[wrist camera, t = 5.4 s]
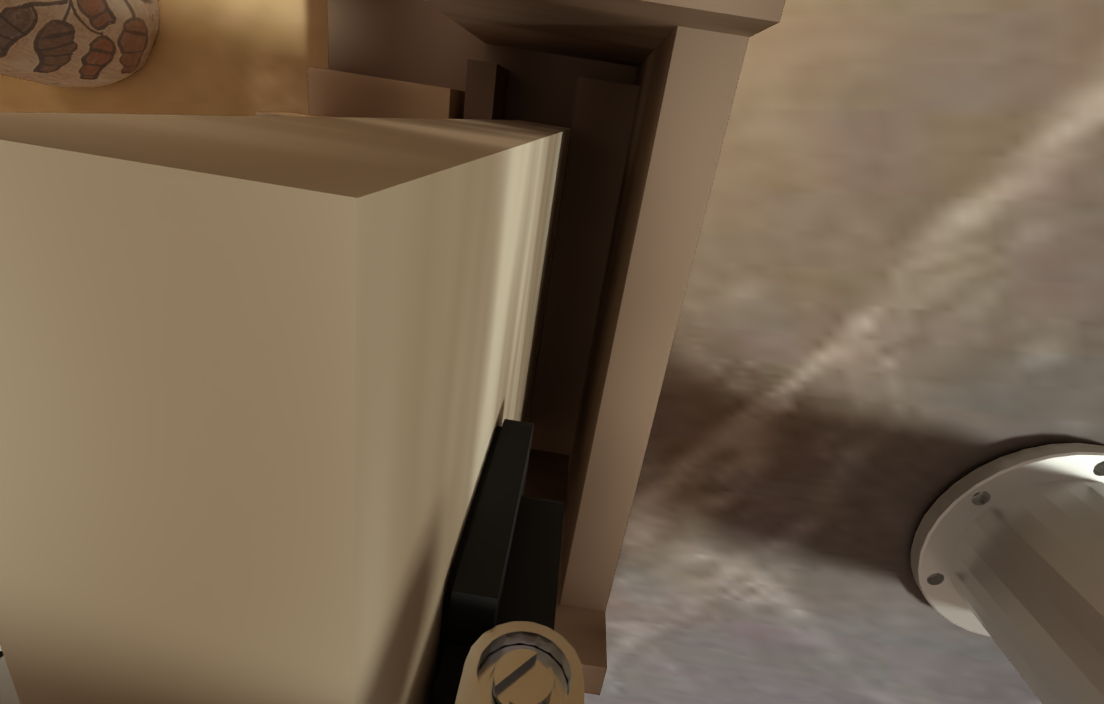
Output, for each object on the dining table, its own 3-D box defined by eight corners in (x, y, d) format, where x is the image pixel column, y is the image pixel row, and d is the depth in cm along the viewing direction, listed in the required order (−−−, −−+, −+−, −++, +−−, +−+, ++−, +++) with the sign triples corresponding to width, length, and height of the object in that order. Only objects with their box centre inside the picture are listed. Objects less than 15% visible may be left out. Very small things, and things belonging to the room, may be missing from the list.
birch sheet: (572, 128, 20) (357, 196, 2) (529, 410, 25) (348, 1209, 7) (518, 119, 20) (-186, 108, 2) (485, 403, 25) (186, 1179, 7)
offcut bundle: (467, 92, 22) (412, 81, 15) (446, 383, 27) (397, 474, 20) (343, 72, 22) (229, 53, 15) (345, 366, 27) (261, 453, 20)
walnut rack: (678, 42, 22) (802, -61, 9) (595, 443, 30) (599, 695, 17) (343, -11, 22) (-2, -187, 9) (346, 404, 30) (159, 625, 17)
